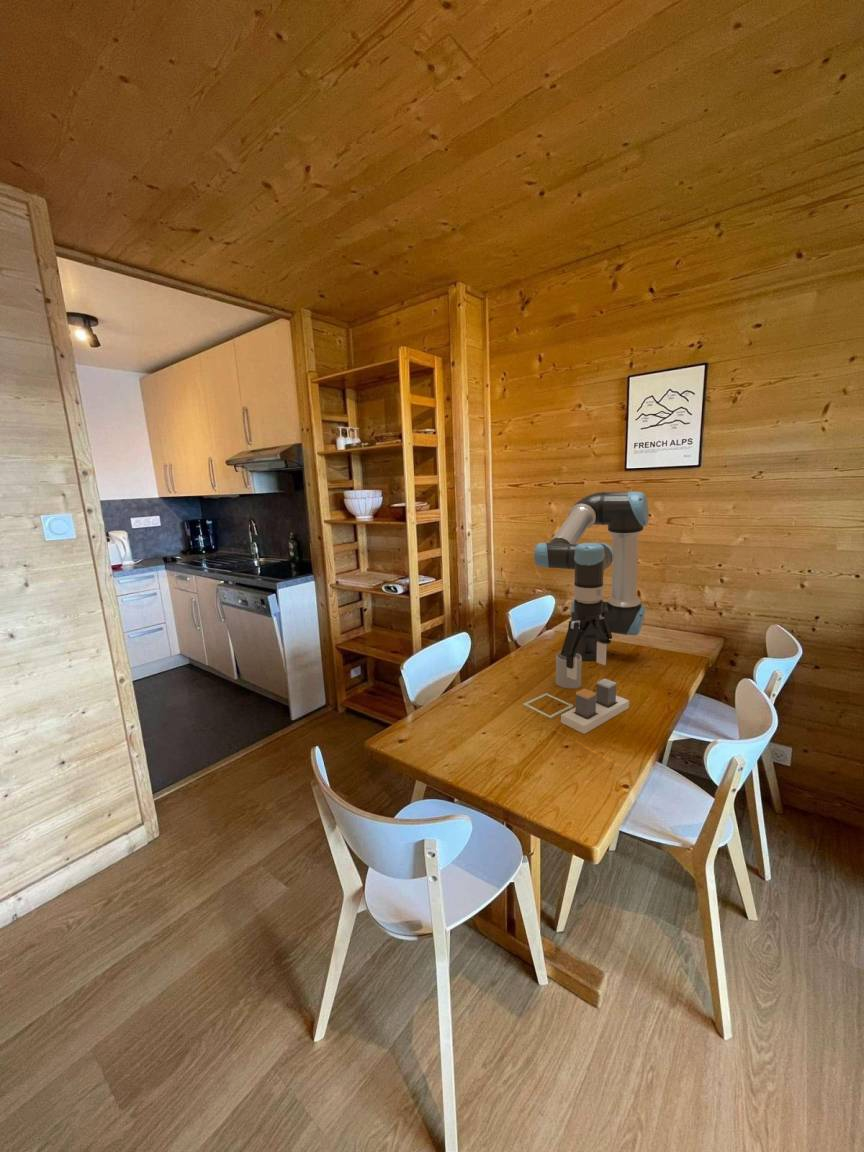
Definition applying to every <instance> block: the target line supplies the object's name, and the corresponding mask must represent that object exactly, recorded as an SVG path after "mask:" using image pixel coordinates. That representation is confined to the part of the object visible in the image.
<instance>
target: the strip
mask: <svg viewBox="0 0 864 1152" xmlns="http://www.w3.org/2000/svg"><path fill="white" fill-rule="evenodd" d="M629 708H630V699H629V700H628V699H626V698H624V697H622V696H620V695H619V696H618V695H617V694H616V704H615V705H613V706H611V707H609V708H607V707H605V706H602V705H600V704H598V703H596V715H595V716H593V717H592V718H590V719H588V720H587V719H585V718H583V717H581V716H578V715H576V714H575V710H576V706H575V707H574V708H573V707H572V708H570V710H569V709H568V710H566V712H565V711H564V712H562V713H561V714H560V723H561V724H563V725H564V726H566V727H569V728H571V729H573V730H575V731H577V732H579V733H581V734H583V735H585V734H587V733H589V732H590V731H592V730H594V729H596V728H597V727H600V726H601V725H602V724H605V723H606V722H607V721H610V720H611V719H612V718H614V717H616V716H618V715H620V714H622V713H623V712H625V711H626V710H629Z"/></svg>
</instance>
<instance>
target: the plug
mask: <svg viewBox="0 0 864 1152" xmlns="http://www.w3.org/2000/svg"><path fill="white" fill-rule="evenodd" d="M575 707H576V710H575V714H576V715H578V716H581V717H583V718H585V719H587V720H588V719H590V718H592V717H593V716H595V715H596V692H594V691H592V690H590V689H587V688H585V687H584V688H582V689H580V690H578V691H576V692H575Z"/></svg>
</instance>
